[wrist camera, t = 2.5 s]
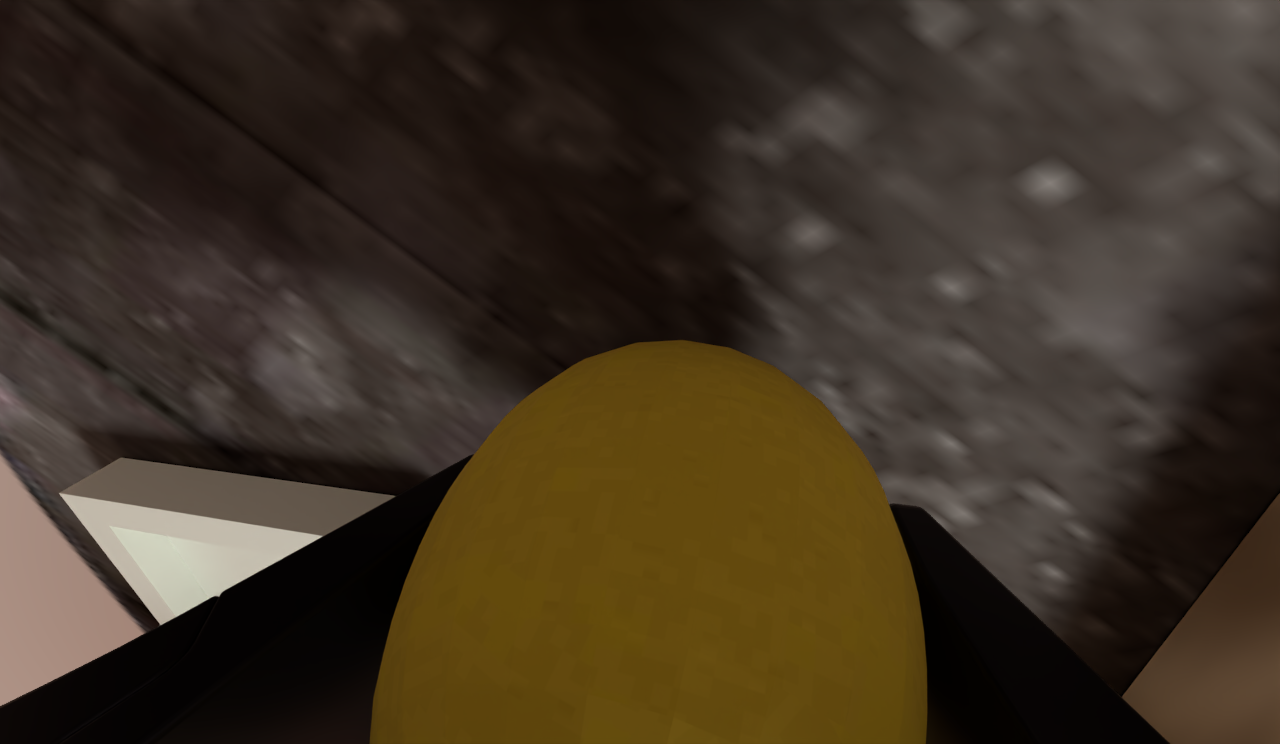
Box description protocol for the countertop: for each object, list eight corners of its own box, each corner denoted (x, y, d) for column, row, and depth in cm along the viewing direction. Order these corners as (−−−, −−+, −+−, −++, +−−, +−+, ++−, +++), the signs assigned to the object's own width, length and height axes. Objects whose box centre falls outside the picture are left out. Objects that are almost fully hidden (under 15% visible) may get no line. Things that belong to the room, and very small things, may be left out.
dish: (529, 739, 18) (511, 790, 16) (267, 679, 20) (233, 719, 19) (469, 506, 12) (436, 554, 11) (120, 457, 15) (58, 493, 13)
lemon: (510, 323, 10) (-114, 901, 3) (806, 214, 8) (1203, 1340, 1) (627, 532, 12) (438, 1158, 5) (884, 490, 10) (1179, 1456, 3)
